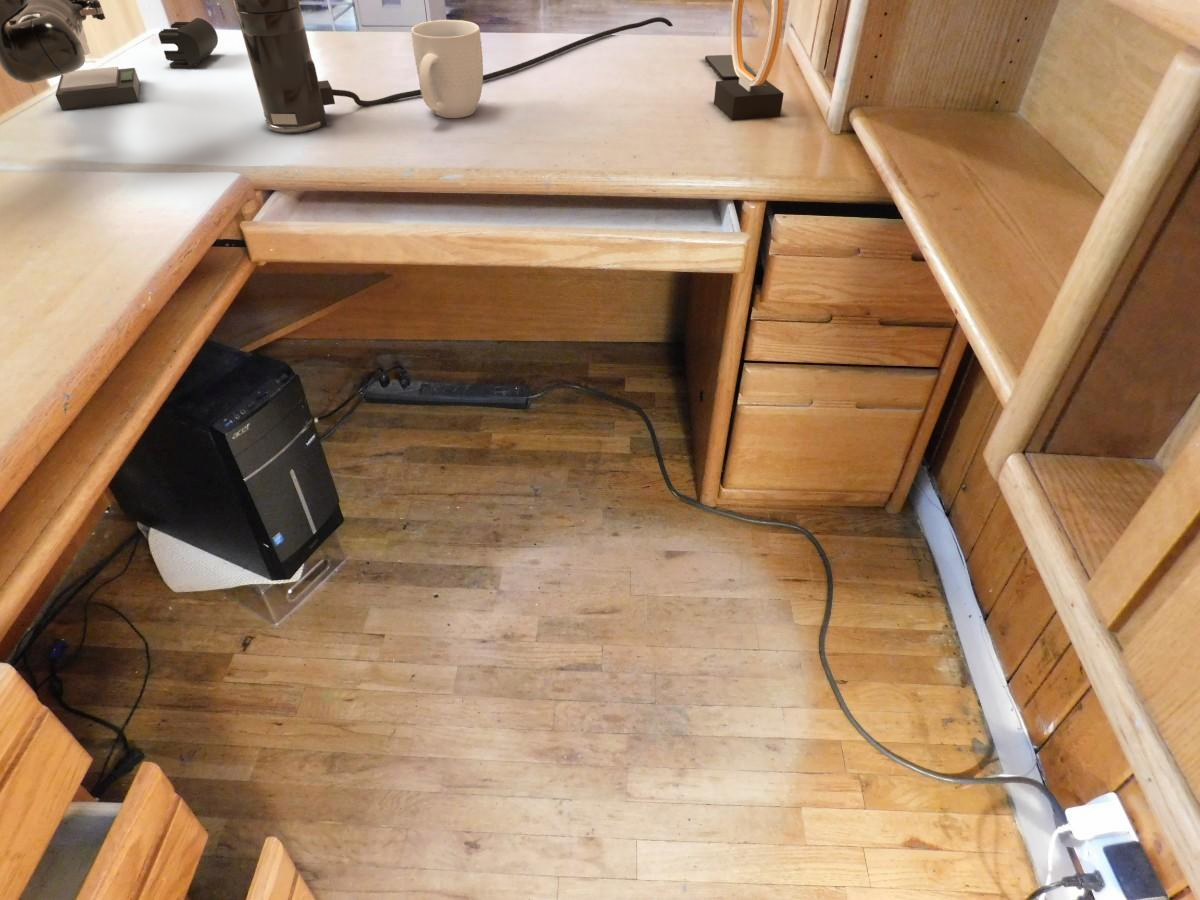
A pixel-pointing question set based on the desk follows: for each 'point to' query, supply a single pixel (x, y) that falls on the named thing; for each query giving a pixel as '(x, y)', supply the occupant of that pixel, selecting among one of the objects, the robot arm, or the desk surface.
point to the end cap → (189, 42)
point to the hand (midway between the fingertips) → (60, 1)
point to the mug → (449, 66)
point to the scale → (97, 87)
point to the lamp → (751, 92)
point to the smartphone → (725, 66)
